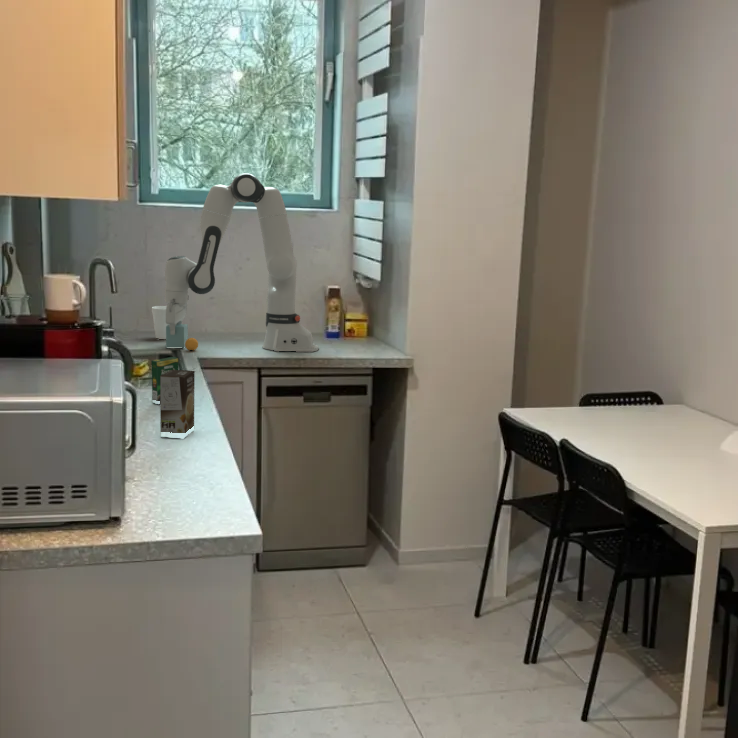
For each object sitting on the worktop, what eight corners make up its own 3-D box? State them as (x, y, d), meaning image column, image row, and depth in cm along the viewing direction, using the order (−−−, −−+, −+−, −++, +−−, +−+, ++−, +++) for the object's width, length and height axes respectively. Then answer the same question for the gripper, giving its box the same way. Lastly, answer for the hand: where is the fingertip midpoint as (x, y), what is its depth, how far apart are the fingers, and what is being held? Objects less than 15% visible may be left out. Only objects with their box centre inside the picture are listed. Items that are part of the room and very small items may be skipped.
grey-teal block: (187, 346, 358) (187, 324, 356) (184, 349, 351) (184, 326, 349) (170, 345, 358) (170, 323, 356) (166, 348, 351) (166, 326, 349)
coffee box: (184, 439, 225) (184, 377, 222) (159, 438, 226) (159, 375, 223) (195, 430, 234) (195, 370, 231) (171, 429, 235) (170, 368, 232)
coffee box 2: (157, 405, 259) (156, 360, 257) (151, 403, 261) (150, 359, 259) (179, 401, 265) (179, 357, 263) (173, 399, 267) (173, 356, 265)
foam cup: (151, 336, 377) (151, 306, 375) (173, 336, 380) (173, 306, 378) (153, 340, 368) (152, 309, 366) (176, 340, 371) (175, 308, 369)
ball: (199, 349, 351) (199, 337, 350) (196, 352, 346) (196, 339, 345) (186, 349, 351) (186, 336, 350) (183, 351, 346) (183, 338, 345)
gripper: (178, 301, 341) (177, 337, 343) (189, 295, 361) (189, 329, 363) (161, 300, 341) (161, 336, 343) (174, 294, 361) (173, 328, 363)
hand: (175, 332), depth 354 cm, fingers open, 8 cm apart
